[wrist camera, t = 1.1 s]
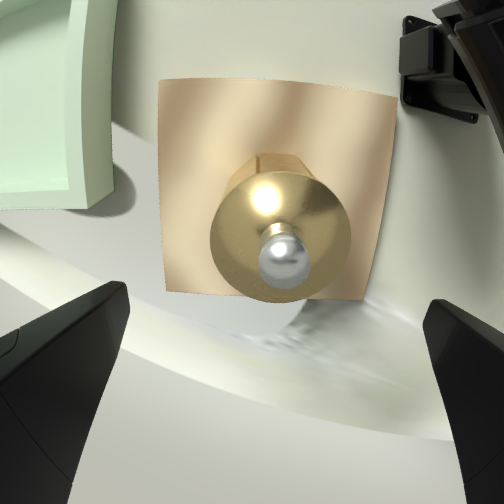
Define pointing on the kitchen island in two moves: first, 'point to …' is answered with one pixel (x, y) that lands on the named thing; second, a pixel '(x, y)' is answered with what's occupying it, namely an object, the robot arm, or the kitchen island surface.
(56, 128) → the bin
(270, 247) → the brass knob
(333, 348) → the kitchen island surface
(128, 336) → the kitchen island surface
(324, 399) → the kitchen island surface
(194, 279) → the stud plate
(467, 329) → the robot arm
